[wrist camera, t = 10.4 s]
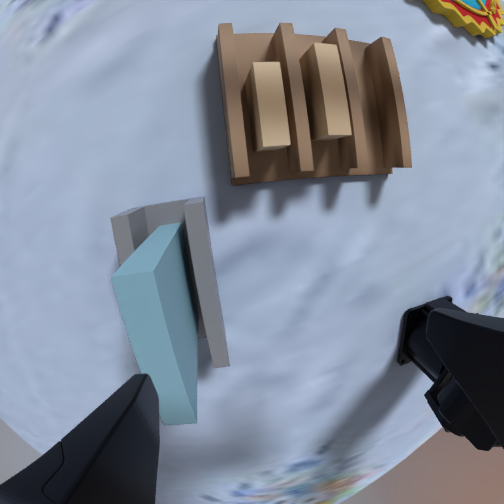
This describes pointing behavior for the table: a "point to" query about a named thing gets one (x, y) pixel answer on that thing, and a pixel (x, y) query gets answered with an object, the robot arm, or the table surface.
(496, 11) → the decorative plaque
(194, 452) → the table surface
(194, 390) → the tall sheet
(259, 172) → the rack
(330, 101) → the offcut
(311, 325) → the table surface
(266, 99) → the offcut small
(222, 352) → the holder
